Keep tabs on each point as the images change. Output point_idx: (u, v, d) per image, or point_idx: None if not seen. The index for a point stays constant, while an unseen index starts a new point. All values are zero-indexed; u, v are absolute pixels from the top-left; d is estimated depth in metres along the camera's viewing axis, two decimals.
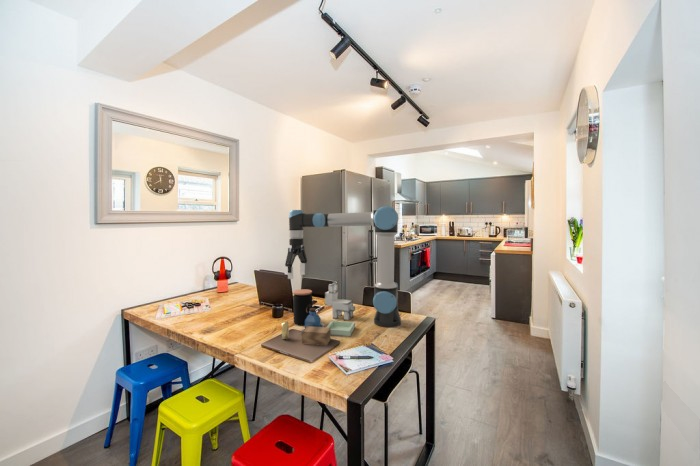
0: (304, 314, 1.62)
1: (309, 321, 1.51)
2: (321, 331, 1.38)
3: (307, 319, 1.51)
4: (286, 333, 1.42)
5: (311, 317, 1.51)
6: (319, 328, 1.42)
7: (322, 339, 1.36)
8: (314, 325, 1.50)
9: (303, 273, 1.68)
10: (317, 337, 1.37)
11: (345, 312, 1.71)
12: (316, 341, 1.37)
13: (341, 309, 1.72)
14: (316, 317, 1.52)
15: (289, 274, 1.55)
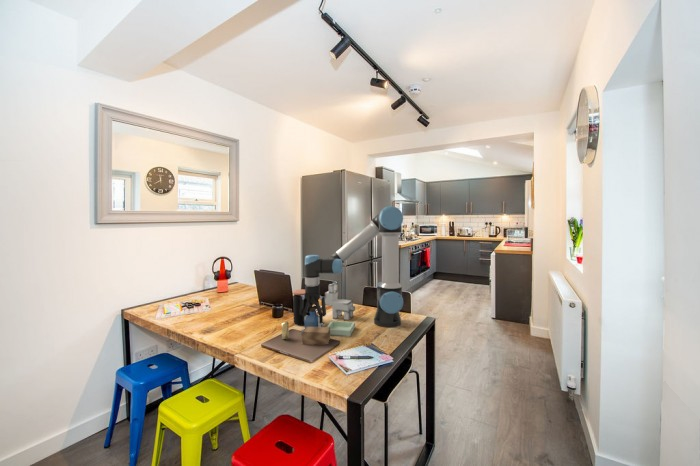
0: None
1: (309, 320, 1.51)
2: (322, 331, 1.38)
3: (307, 319, 1.51)
4: (286, 333, 1.42)
5: (311, 317, 1.51)
6: (319, 328, 1.42)
7: (323, 339, 1.37)
8: (314, 325, 1.50)
9: None
10: (318, 337, 1.37)
11: (345, 312, 1.71)
12: (316, 341, 1.37)
13: (341, 309, 1.72)
14: (316, 317, 1.52)
15: None
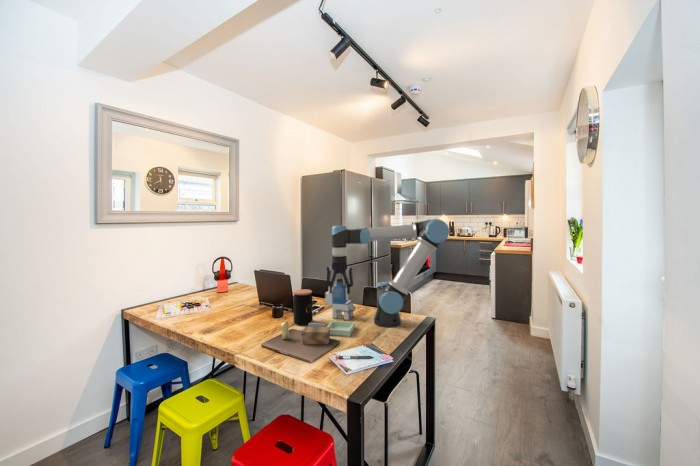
0: (304, 314, 1.62)
1: (337, 291, 1.50)
2: (322, 331, 1.38)
3: (335, 289, 1.51)
4: (286, 333, 1.42)
5: (339, 287, 1.50)
6: (319, 328, 1.42)
7: (324, 338, 1.37)
8: (342, 295, 1.49)
9: None
10: (318, 337, 1.37)
11: (345, 312, 1.71)
12: (317, 341, 1.37)
13: (341, 309, 1.72)
14: (343, 287, 1.52)
15: None
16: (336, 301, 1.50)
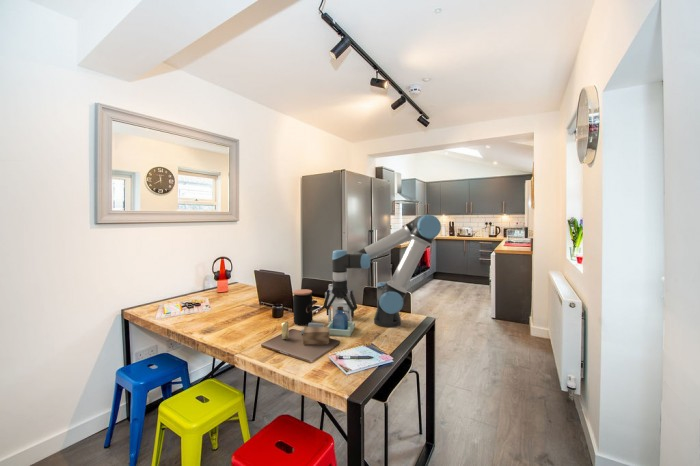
0: (304, 314, 1.62)
1: (338, 319, 1.50)
2: (322, 330, 1.38)
3: (335, 318, 1.51)
4: (286, 333, 1.42)
5: (339, 315, 1.51)
6: (318, 328, 1.42)
7: (324, 338, 1.37)
8: (342, 323, 1.50)
9: None
10: (319, 337, 1.37)
11: (345, 312, 1.71)
12: (318, 341, 1.37)
13: None
14: (344, 315, 1.52)
15: None
16: None
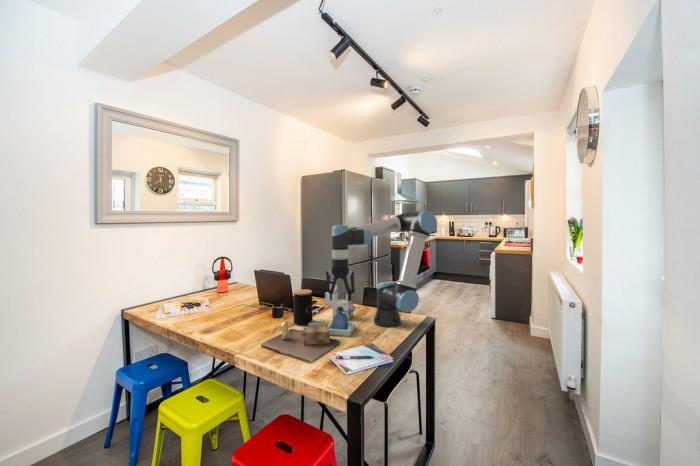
0: (304, 314, 1.62)
1: (337, 319, 1.50)
2: (323, 330, 1.39)
3: (335, 318, 1.51)
4: (286, 333, 1.42)
5: (339, 315, 1.51)
6: (318, 328, 1.42)
7: (325, 338, 1.38)
8: (342, 323, 1.50)
9: None
10: (320, 337, 1.37)
11: (345, 312, 1.71)
12: (318, 341, 1.37)
13: None
14: (344, 315, 1.52)
15: None
16: None
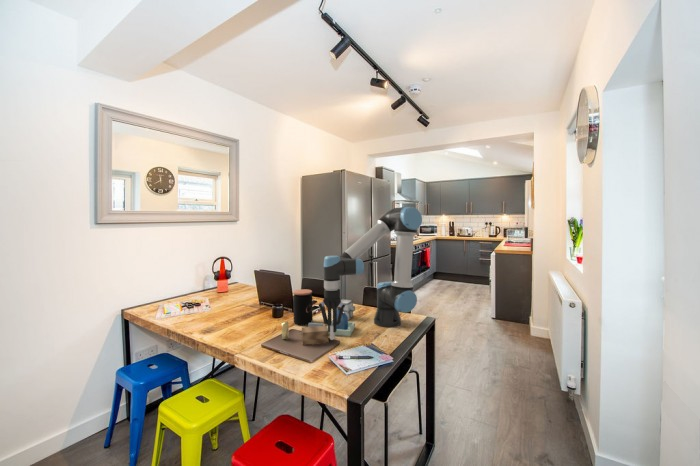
0: (304, 314, 1.62)
1: (337, 319, 1.50)
2: (321, 330, 1.39)
3: None
4: (286, 333, 1.42)
5: None
6: (316, 327, 1.42)
7: (324, 337, 1.38)
8: (342, 323, 1.50)
9: None
10: (319, 336, 1.38)
11: (345, 312, 1.71)
12: (317, 340, 1.38)
13: None
14: (344, 315, 1.52)
15: None
16: None
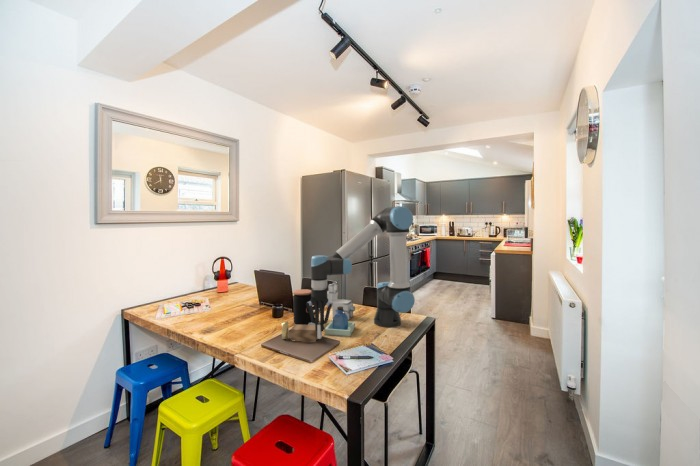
0: (304, 314, 1.62)
1: (338, 319, 1.50)
2: (310, 328, 1.41)
3: (335, 318, 1.51)
4: (286, 333, 1.42)
5: (339, 315, 1.51)
6: (307, 326, 1.45)
7: (311, 336, 1.40)
8: (342, 323, 1.50)
9: None
10: (306, 334, 1.40)
11: (345, 312, 1.71)
12: (305, 338, 1.40)
13: None
14: (344, 315, 1.52)
15: None
16: None
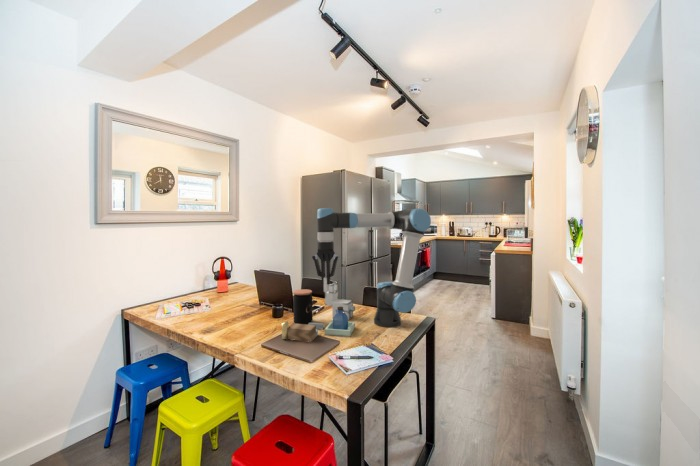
0: (304, 314, 1.62)
1: (337, 319, 1.50)
2: (306, 328, 1.42)
3: (335, 318, 1.51)
4: (286, 333, 1.42)
5: (339, 315, 1.51)
6: (305, 325, 1.46)
7: (306, 336, 1.40)
8: (342, 323, 1.50)
9: None
10: (302, 334, 1.41)
11: (345, 312, 1.71)
12: (300, 338, 1.41)
13: None
14: (344, 315, 1.52)
15: None
16: None
